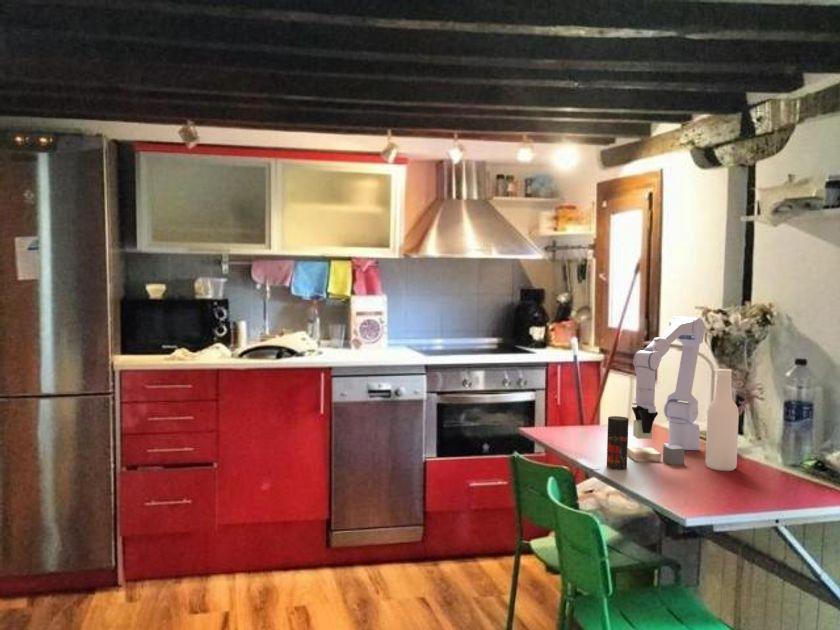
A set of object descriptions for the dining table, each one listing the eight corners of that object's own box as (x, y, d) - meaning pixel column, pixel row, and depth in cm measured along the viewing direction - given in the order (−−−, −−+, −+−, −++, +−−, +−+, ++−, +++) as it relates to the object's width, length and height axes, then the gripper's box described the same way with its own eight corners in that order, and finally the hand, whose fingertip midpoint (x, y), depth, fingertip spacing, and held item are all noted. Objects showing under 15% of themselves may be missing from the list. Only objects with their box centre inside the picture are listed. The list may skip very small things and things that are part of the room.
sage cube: (647, 435, 244) (647, 420, 244) (651, 438, 240) (652, 422, 239) (633, 435, 244) (633, 420, 244) (637, 438, 239) (638, 422, 239)
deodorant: (604, 464, 233) (605, 416, 232) (623, 464, 233) (625, 416, 232) (609, 469, 227) (610, 420, 226) (629, 470, 227) (630, 420, 226)
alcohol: (699, 466, 233) (703, 368, 231) (716, 462, 237) (720, 366, 235) (724, 473, 225) (728, 372, 223) (742, 468, 230) (746, 370, 228)
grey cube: (675, 460, 239) (675, 445, 239) (684, 464, 235) (684, 448, 234) (662, 461, 238) (663, 445, 237) (671, 465, 233) (672, 449, 233)
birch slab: (651, 455, 246) (651, 447, 245) (660, 461, 238) (660, 453, 237) (627, 454, 245) (627, 447, 245) (635, 461, 237) (635, 453, 237)
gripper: (625, 384, 248) (624, 426, 249) (640, 392, 233) (638, 436, 234) (647, 385, 248) (645, 426, 249) (663, 392, 234) (661, 436, 234)
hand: (643, 431), depth 242 cm, fingers closed on sage cube, 4 cm apart
